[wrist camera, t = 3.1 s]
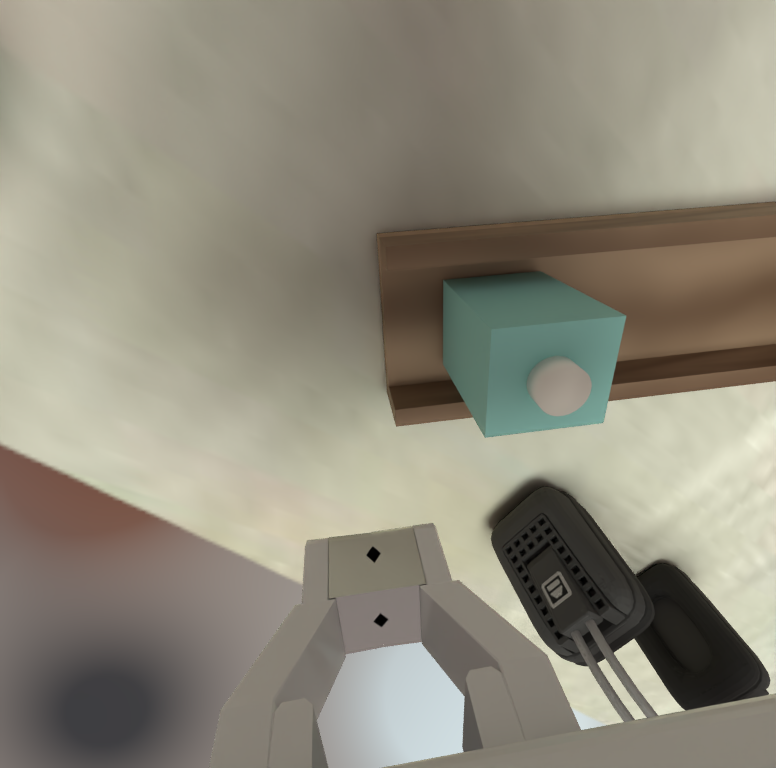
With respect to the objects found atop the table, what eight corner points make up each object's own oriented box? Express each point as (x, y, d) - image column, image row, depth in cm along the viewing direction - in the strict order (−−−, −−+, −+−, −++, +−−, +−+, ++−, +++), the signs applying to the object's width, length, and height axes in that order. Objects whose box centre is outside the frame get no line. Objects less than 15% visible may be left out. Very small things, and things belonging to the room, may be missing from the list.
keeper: (443, 280, 21) (502, 339, 14) (540, 271, 22) (644, 325, 14) (442, 364, 23) (493, 452, 16) (531, 354, 24) (617, 436, 17)
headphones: (473, 523, 32) (657, 981, 14) (535, 466, 30) (837, 910, 12) (637, 615, 40) (882, 972, 22) (694, 575, 38) (1008, 929, 21)
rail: (376, 233, 21) (392, 257, 16) (865, 194, 23) (1015, 204, 18) (387, 392, 25) (402, 450, 20) (800, 345, 28) (907, 387, 23)
